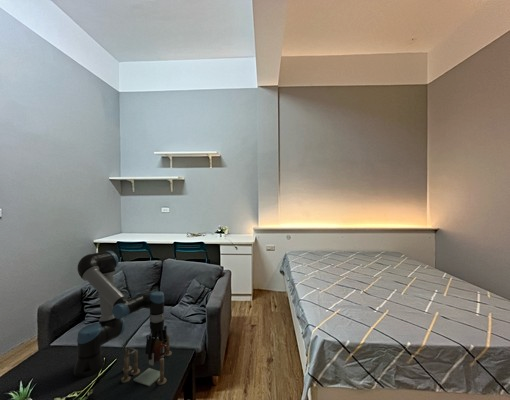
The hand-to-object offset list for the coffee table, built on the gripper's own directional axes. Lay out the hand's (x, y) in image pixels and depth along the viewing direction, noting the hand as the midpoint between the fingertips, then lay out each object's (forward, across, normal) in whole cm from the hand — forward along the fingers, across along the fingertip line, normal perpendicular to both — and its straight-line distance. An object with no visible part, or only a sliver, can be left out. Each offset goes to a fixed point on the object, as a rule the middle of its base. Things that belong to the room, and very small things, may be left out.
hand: (156, 360), depth 152 cm
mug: (0, 0, 0) cm, 1 cm away
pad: (+6, -6, 0) cm, 8 cm away
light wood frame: (+6, -9, +13) cm, 17 cm away
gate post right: (+6, -6, -9) cm, 12 cm away
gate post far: (+6, +16, +6) cm, 18 cm away
